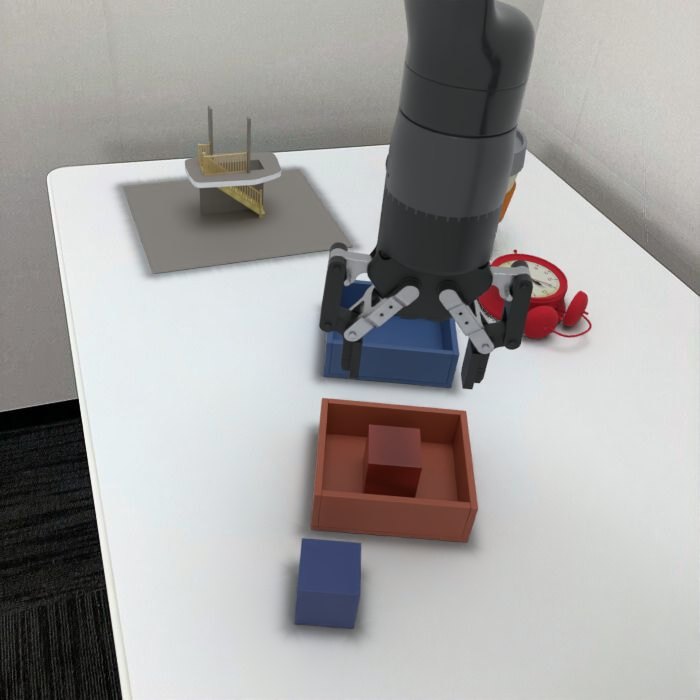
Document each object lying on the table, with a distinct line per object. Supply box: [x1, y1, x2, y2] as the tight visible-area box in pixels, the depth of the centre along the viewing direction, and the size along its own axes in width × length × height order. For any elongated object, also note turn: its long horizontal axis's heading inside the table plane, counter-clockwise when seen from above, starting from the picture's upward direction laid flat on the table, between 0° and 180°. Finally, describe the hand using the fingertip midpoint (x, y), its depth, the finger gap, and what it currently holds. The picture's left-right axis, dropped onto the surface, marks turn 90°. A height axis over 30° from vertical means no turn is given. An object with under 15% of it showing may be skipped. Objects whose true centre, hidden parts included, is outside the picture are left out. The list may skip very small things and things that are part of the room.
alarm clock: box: [477, 249, 593, 340], centre depth 89 cm, size 10×6×15 cm
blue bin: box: [322, 279, 460, 389], centre depth 82 cm, size 13×11×4 cm
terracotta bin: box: [310, 397, 479, 543], centre depth 67 cm, size 13×11×4 cm
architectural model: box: [122, 105, 354, 275], centre depth 96 cm, size 21×25×14 cm
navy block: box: [293, 537, 362, 629], centre depth 58 cm, size 4×4×4 cm
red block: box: [363, 424, 422, 498], centre depth 67 cm, size 4×4×4 cm
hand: (410, 376), depth 58 cm, fingers open, 8 cm apart
